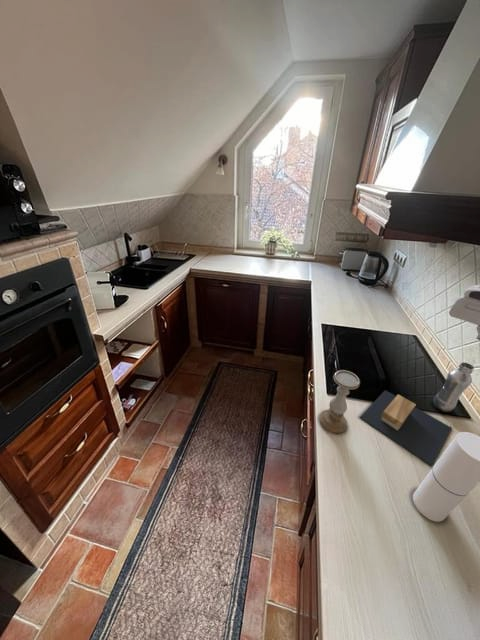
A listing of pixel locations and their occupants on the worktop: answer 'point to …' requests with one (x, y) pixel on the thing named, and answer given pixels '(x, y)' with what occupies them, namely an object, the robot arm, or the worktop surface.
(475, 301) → the robot arm
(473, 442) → the cylindrical container
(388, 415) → the wooden block
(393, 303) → the worktop surface
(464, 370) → the plastic bottle
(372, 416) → the mat
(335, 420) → the candle holder
